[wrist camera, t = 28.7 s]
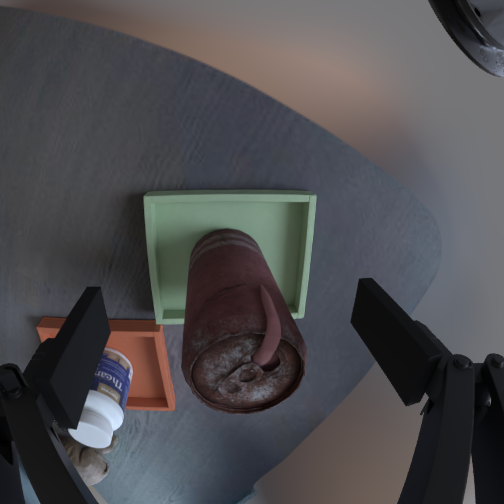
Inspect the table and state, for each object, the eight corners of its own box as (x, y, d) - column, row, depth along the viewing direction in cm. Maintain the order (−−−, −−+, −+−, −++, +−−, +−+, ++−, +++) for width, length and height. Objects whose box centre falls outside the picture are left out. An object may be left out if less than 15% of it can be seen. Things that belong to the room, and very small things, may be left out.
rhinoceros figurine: (117, 474, 34) (50, 515, 20) (62, 408, 38) (-10, 430, 23) (137, 454, 33) (62, 501, 19) (76, 381, 37) (-6, 403, 22)
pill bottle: (136, 352, 28) (119, 428, 19) (131, 387, 30) (118, 458, 21) (86, 338, 27) (56, 408, 18) (86, 374, 29) (62, 441, 20)
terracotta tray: (161, 319, 28) (159, 331, 26) (175, 398, 32) (174, 411, 30) (43, 316, 26) (35, 327, 24) (72, 392, 30) (68, 403, 28)
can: (270, 230, 26) (333, 327, 13) (252, 297, 28) (290, 420, 15) (197, 217, 24) (190, 312, 12) (185, 287, 26) (176, 415, 14)
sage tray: (308, 190, 25) (316, 195, 24) (297, 306, 29) (303, 318, 28) (147, 191, 24) (143, 196, 22) (158, 312, 28) (156, 324, 26)
